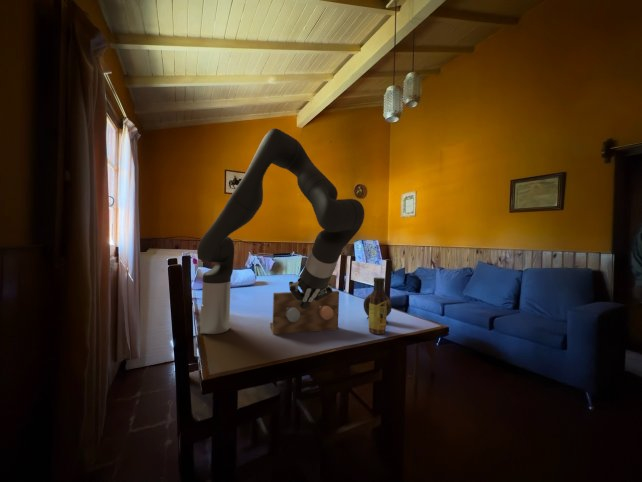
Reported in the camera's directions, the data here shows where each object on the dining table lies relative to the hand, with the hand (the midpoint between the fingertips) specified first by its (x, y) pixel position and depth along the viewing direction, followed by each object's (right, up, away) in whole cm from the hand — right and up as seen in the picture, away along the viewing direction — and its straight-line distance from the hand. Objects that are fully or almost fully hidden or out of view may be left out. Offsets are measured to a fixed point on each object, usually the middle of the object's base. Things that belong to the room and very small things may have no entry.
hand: (303, 306), depth 80 cm
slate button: (-5, -8, +15) cm, 18 cm away
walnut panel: (-1, -13, +20) cm, 24 cm away
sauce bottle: (+26, -14, +18) cm, 35 cm away
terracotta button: (+6, -8, +19) cm, 21 cm away
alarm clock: (+28, -14, +31) cm, 44 cm away
